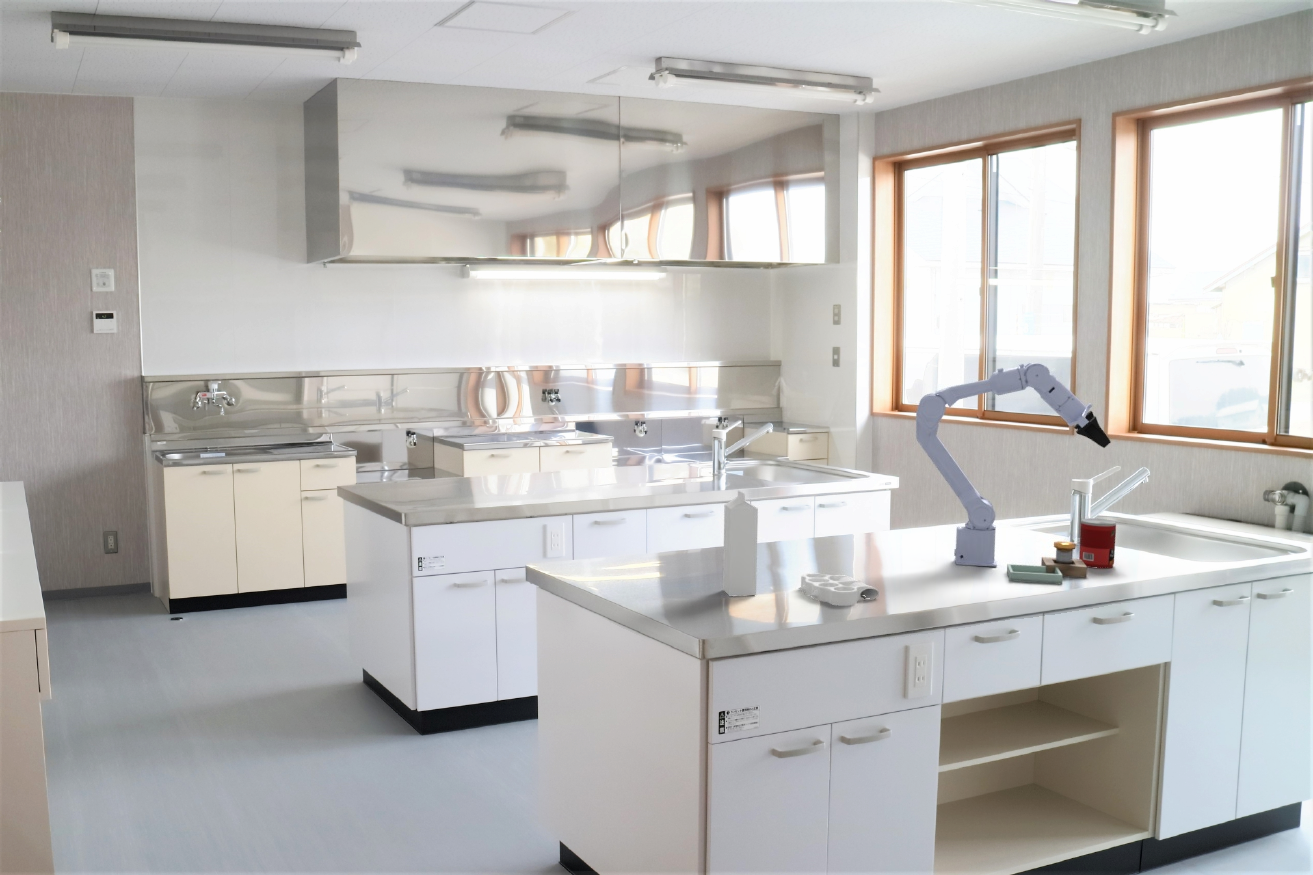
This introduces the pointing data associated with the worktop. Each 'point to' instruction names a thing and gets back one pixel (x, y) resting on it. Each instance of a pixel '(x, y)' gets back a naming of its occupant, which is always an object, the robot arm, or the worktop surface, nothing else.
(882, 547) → the worktop surface
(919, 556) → the worktop surface
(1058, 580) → the tray
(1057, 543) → the pin
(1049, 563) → the socket block
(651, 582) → the worktop surface
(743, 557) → the milk
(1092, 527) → the canned food
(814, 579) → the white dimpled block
